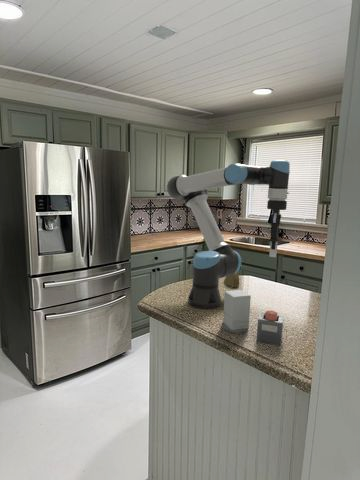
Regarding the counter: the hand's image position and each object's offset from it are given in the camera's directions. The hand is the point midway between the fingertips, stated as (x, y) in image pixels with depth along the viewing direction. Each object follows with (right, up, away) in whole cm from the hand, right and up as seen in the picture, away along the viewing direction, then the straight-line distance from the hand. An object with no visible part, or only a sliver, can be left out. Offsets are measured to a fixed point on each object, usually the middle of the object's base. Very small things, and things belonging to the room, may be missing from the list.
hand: (272, 256), depth 134 cm
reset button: (-7, -25, -22) cm, 34 cm away
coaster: (-18, -26, -13) cm, 34 cm away
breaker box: (-7, -28, -21) cm, 36 cm away
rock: (-11, -18, +42) cm, 47 cm away
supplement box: (-18, -25, -13) cm, 34 cm away
